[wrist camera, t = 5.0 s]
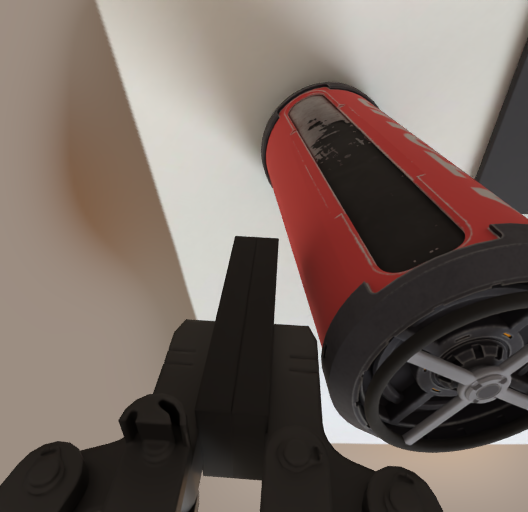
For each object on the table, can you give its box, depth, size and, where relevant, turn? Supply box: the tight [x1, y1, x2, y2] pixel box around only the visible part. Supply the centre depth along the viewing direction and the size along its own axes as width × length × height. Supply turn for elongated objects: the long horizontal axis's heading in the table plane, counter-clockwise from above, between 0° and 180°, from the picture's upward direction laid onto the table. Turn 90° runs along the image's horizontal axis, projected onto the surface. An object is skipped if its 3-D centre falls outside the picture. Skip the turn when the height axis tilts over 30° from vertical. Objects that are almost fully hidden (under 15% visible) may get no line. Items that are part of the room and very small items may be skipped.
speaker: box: [261, 82, 528, 453], centre depth 17 cm, size 8×8×18 cm
